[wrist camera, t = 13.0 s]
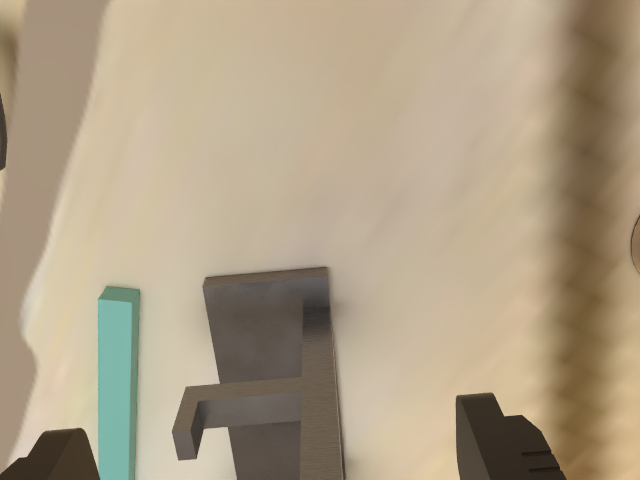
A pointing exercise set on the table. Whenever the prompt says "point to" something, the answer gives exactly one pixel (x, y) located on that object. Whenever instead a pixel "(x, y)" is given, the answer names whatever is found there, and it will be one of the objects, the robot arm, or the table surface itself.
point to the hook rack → (269, 378)
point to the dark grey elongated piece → (2, 137)
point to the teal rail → (117, 382)
